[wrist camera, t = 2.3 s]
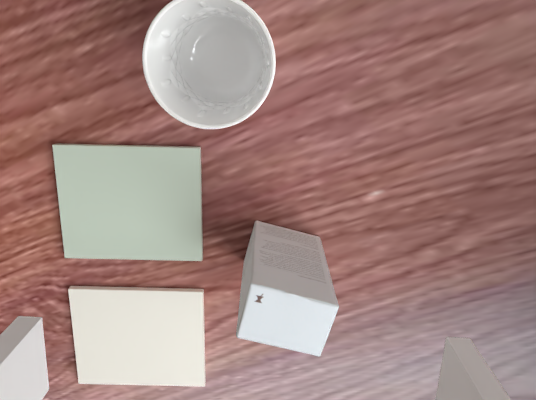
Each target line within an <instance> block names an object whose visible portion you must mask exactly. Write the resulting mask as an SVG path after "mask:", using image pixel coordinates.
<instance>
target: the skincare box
mask: <svg viewBox="0 0 536 400" xmlns="http://www.w3.org/2000/svg"><path fill="white" fill-rule="evenodd" d="M338 308H339V305H338V301H337V298H336V295H335V291H334V288H333V284H332V280H331V276H330V272H329V269H328V265H327V261H326V257H325V253H324V250H323V246H322V242H321V239H320V237H319V236H314V235H311V234H307V233H303V232H299V231H295V230H291V229H288V228H284V227H280V226H276V225H272V224H268V223H264V222H261V221H255V224H254V227H253V231H252V234H251V237H250V241H249V244H248V248H247V252H246V256H245V259H244V264H243V273H242V283H241V293H240V303H239V312H238V323H237V332H236V336H237V338H241V339H245V340H250V341H254V342H258V343H262V344H267V345H271V346H276V347H280V348H285V349H289V350H293V351H298V352H302V353H307V354H311V355H315V356H319V357H320V356H321V353H322V350H323V348H324V345H325V343H326V340H327V337H328V335H329V332H330V329H331V327H332V324H333V322H334V319H335V316H336V314H337V311H338Z"/></svg>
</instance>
